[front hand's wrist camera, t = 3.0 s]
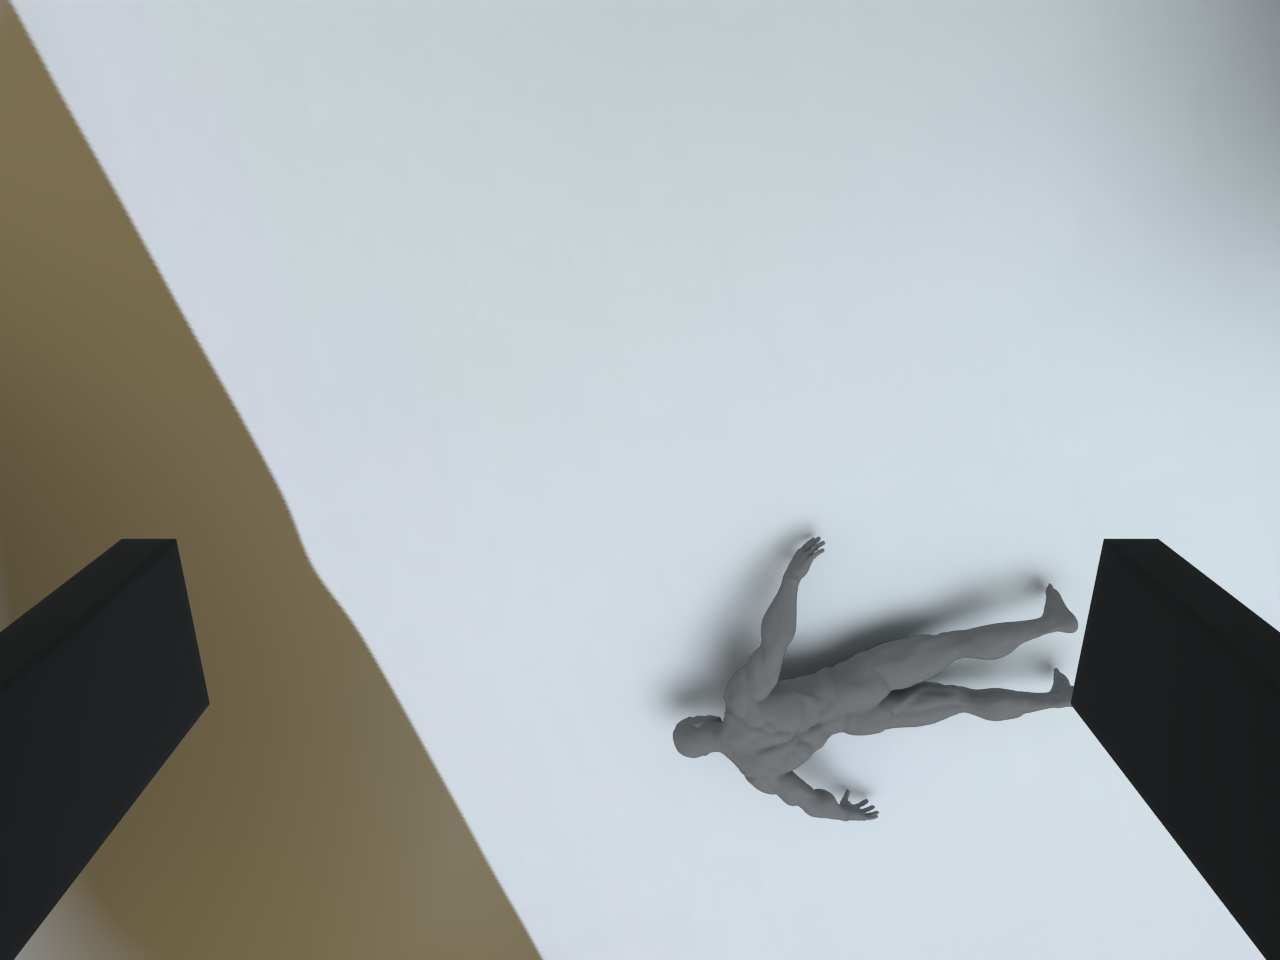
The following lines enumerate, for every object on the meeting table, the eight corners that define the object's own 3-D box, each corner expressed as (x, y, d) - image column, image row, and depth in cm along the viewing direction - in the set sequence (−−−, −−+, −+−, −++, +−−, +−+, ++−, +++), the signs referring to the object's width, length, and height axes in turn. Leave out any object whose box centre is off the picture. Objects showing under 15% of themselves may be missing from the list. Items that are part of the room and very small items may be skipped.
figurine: (1032, 477, 43) (630, 580, 44) (1077, 510, 39) (634, 622, 40) (1061, 755, 49) (706, 841, 49) (1103, 808, 45) (716, 901, 45)
